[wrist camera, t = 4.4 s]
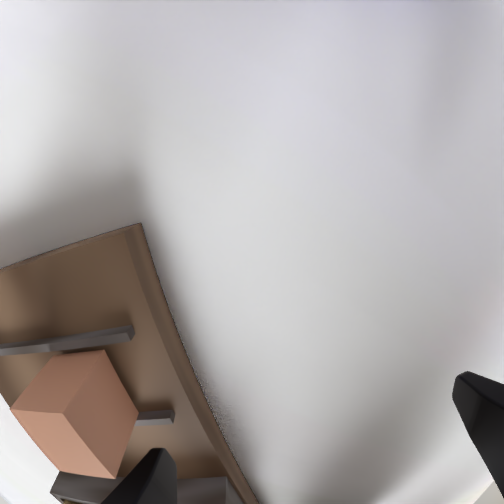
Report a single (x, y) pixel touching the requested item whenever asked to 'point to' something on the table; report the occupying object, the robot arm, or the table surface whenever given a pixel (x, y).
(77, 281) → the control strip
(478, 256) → the table surface
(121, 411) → the peach tinted cube
